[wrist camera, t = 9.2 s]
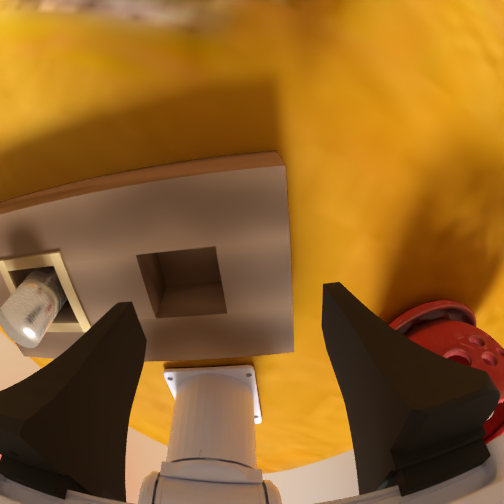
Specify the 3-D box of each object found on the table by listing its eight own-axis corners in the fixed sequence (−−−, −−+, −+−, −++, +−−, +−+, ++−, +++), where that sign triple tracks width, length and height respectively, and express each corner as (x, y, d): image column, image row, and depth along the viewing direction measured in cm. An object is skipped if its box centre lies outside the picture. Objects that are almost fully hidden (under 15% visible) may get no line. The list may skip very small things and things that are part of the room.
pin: (87, 284, 21) (47, 349, 15) (55, 286, 21) (13, 346, 15) (73, 246, 20) (23, 305, 14) (41, 250, 20) (-10, 306, 14)
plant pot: (364, 292, 23) (427, 424, 13) (486, 281, 23) (560, 369, 13) (337, 395, 29) (362, 500, 19) (442, 376, 30) (482, 459, 19)
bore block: (286, 313, 24) (294, 354, 20) (42, 326, 24) (23, 357, 20) (276, 150, 18) (285, 166, 14) (-9, 205, 18) (-42, 227, 15)
